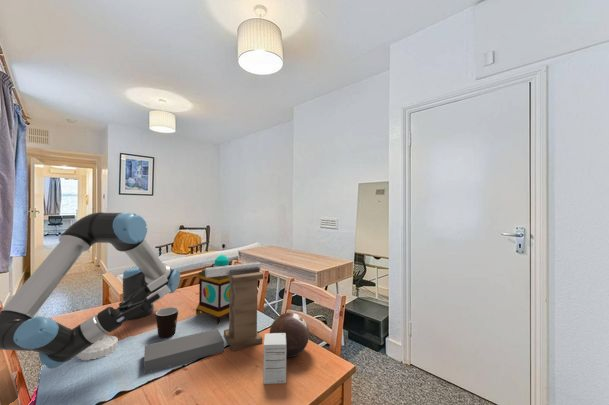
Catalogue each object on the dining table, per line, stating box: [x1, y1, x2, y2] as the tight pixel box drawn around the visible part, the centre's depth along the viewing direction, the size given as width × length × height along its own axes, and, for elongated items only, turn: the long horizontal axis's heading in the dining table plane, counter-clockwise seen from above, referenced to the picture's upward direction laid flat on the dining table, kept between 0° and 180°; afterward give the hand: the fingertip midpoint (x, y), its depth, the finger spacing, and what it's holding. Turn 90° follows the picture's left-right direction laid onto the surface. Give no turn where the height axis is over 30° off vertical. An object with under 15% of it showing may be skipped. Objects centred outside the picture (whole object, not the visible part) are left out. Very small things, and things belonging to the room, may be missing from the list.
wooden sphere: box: [269, 312, 310, 358], centre depth 98 cm, size 15×15×15 cm
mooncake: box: [76, 335, 119, 361], centre depth 98 cm, size 12×12×4 cm
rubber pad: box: [143, 328, 225, 374], centre depth 97 cm, size 11×26×4 cm, turn 121°
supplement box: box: [262, 332, 287, 385], centre depth 86 cm, size 7×7×13 cm
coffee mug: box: [155, 306, 179, 339], centre depth 112 cm, size 12×9×10 cm
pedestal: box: [223, 268, 264, 352], centre depth 108 cm, size 14×12×30 cm
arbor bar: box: [204, 261, 262, 278], centre depth 106 cm, size 3×22×3 cm, turn 121°
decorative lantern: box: [195, 254, 233, 324], centre depth 132 cm, size 20×20×30 cm
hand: (167, 282), depth 94 cm, fingers open, 13 cm apart
